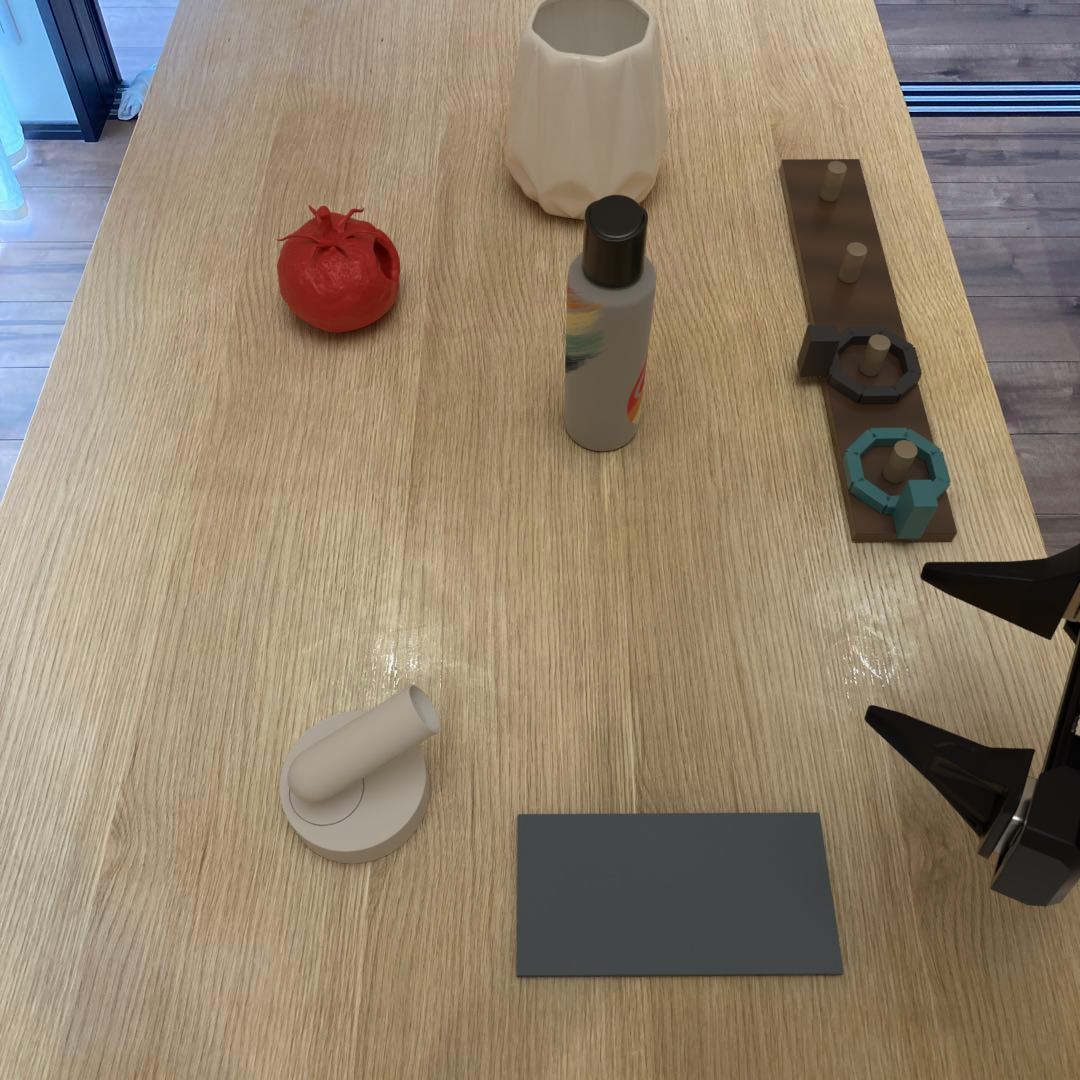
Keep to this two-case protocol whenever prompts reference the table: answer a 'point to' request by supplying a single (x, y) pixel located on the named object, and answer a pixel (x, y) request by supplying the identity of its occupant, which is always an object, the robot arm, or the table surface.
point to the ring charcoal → (824, 362)
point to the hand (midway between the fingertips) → (895, 637)
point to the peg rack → (857, 301)
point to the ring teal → (917, 495)
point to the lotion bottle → (608, 325)
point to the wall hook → (361, 779)
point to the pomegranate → (338, 271)
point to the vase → (586, 104)
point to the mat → (674, 895)
